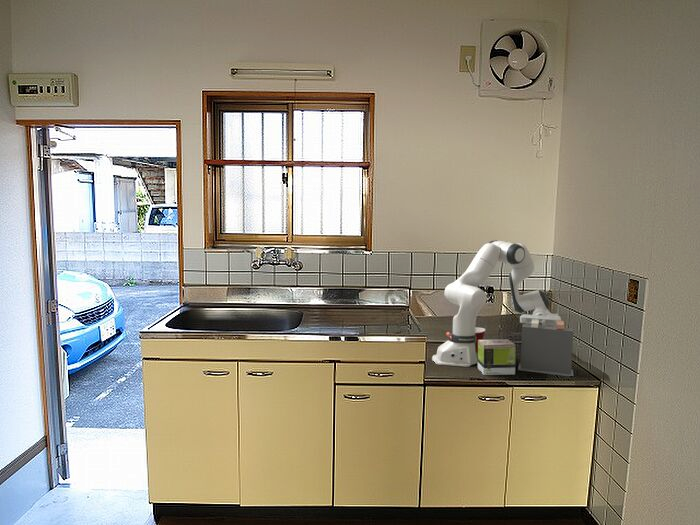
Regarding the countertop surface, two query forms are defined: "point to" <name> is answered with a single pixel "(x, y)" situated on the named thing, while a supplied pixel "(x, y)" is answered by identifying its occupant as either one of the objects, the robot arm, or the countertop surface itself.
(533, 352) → the panel
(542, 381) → the countertop surface
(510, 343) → the tea box
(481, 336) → the plastic cup
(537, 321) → the ivory key
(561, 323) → the terracotta key
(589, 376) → the countertop surface
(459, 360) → the robot arm
